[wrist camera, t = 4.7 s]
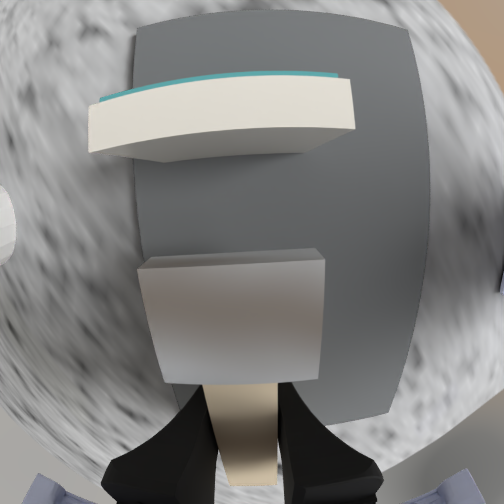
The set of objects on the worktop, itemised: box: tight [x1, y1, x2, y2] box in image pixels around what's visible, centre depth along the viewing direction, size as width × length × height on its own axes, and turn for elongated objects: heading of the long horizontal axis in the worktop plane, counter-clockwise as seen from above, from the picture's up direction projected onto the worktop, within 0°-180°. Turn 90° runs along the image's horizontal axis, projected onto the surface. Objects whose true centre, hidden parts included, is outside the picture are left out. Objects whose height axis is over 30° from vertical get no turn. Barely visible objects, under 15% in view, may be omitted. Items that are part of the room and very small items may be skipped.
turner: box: [137, 248, 325, 486], centre depth 11 cm, size 12×5×5 cm, turn 3°
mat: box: [133, 10, 430, 426], centre depth 12 cm, size 14×24×1 cm, turn 3°
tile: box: [88, 71, 355, 163], centre depth 8 cm, size 6×1×6 cm, turn 93°
